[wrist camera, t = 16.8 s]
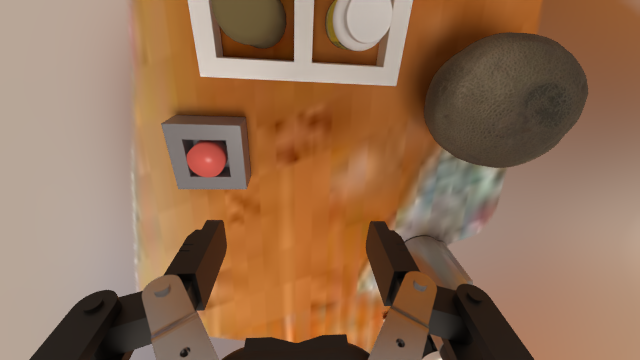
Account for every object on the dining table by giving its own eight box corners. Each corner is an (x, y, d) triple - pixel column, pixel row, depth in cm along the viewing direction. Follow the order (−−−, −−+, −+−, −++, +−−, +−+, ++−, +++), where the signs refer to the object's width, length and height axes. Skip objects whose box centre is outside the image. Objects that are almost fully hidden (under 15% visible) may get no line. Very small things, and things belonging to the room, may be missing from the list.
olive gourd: (224, -11, 26) (185, -42, 17) (280, -19, 26) (272, -55, 17) (241, 52, 29) (215, 56, 20) (290, 44, 29) (289, 44, 20)
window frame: (410, -40, 26) (422, -49, 24) (387, 82, 32) (396, 86, 30) (187, -64, 24) (174, -78, 21) (208, 73, 30) (200, 76, 27)
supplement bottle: (324, 50, 30) (337, 52, 21) (324, -5, 27) (338, -27, 19) (367, 49, 30) (396, 51, 22) (371, -5, 28) (406, -27, 19)
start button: (227, 137, 32) (221, 145, 30) (231, 167, 34) (225, 177, 32) (192, 136, 32) (183, 145, 29) (198, 167, 34) (190, 177, 31)
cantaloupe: (492, 7, 29) (650, -23, 16) (510, 107, 36) (634, 143, 23) (387, 74, 32) (451, 94, 19) (421, 156, 38) (487, 213, 25)
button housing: (245, 117, 33) (240, 125, 29) (251, 175, 37) (246, 189, 34) (175, 114, 32) (161, 123, 28) (189, 175, 36) (178, 189, 33)
